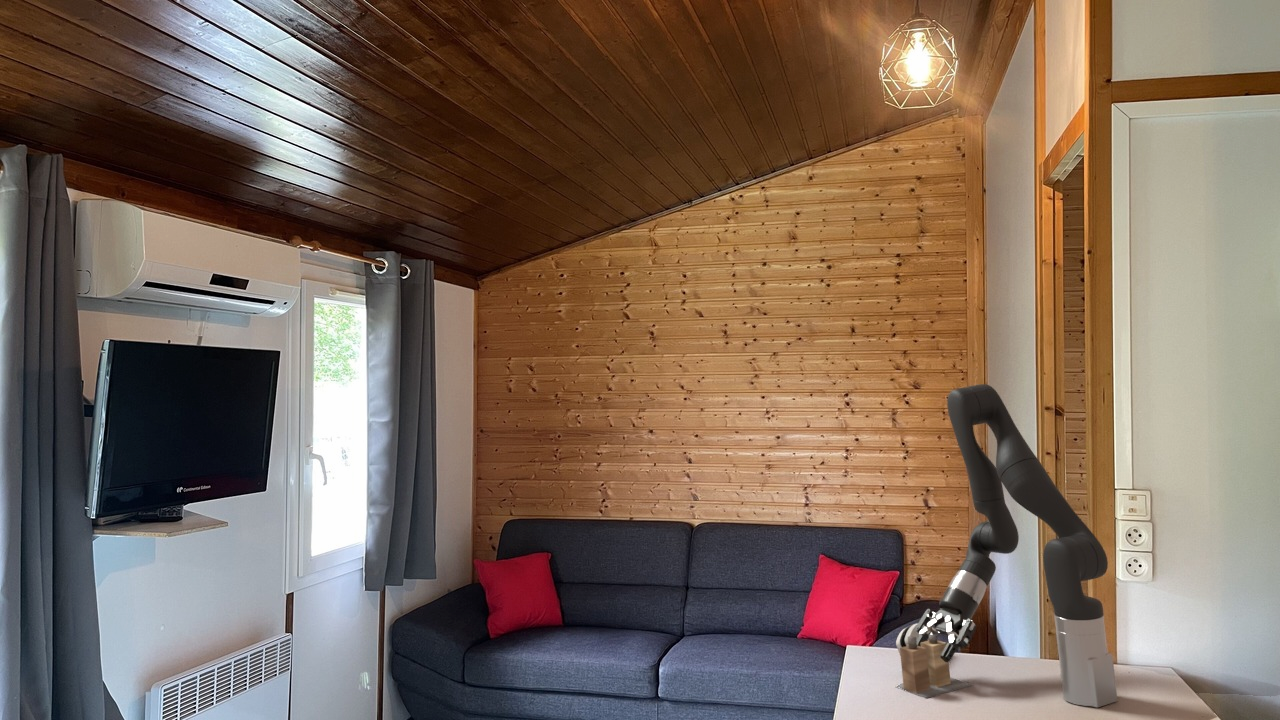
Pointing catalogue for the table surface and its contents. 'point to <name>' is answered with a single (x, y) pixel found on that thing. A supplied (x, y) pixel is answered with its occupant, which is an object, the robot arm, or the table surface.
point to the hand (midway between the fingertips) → (930, 655)
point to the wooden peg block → (936, 662)
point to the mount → (921, 672)
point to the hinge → (905, 633)
